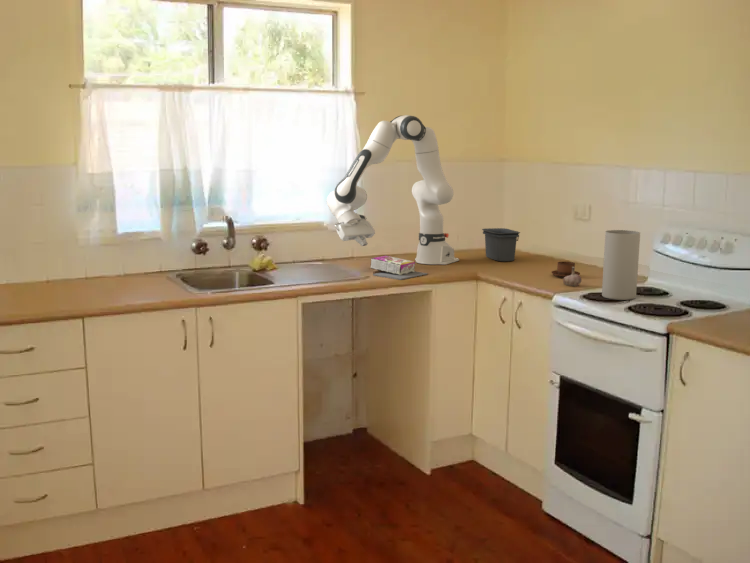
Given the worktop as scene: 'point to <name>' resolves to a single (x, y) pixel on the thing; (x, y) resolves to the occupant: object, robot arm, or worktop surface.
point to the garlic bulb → (572, 279)
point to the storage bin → (500, 243)
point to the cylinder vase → (620, 264)
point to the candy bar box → (392, 265)
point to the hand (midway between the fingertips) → (364, 245)
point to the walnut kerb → (377, 271)
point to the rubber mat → (400, 277)
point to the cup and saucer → (564, 269)
